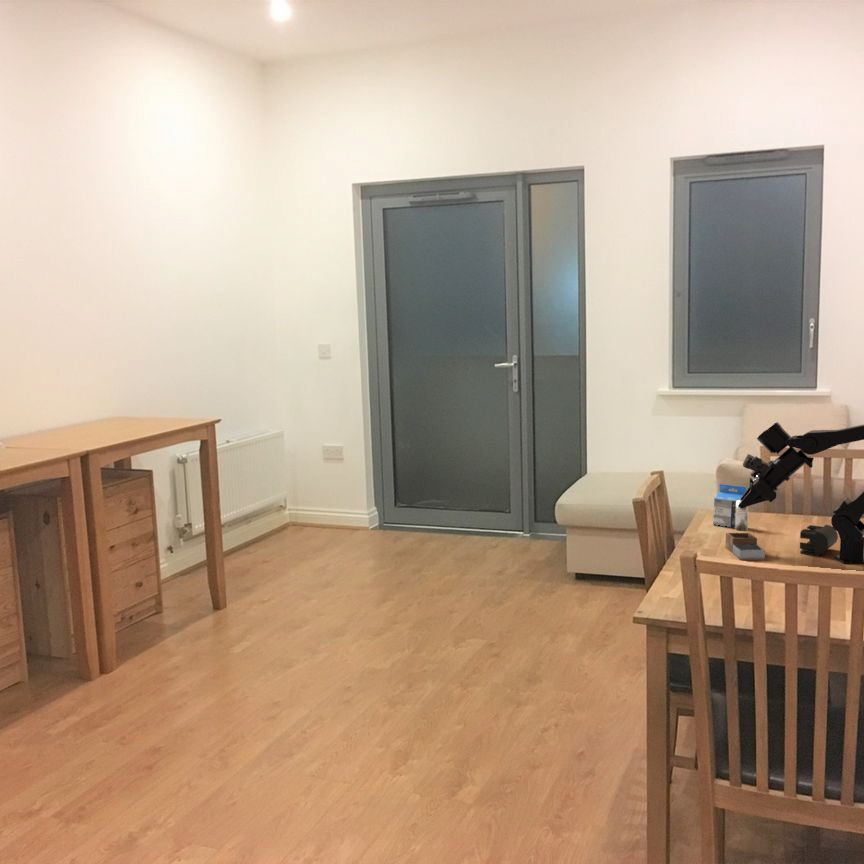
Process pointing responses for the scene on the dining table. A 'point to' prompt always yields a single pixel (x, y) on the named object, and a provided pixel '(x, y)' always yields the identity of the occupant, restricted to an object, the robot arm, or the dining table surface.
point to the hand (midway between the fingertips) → (739, 505)
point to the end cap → (818, 539)
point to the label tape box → (726, 505)
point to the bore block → (739, 539)
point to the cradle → (748, 551)
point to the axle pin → (741, 517)
